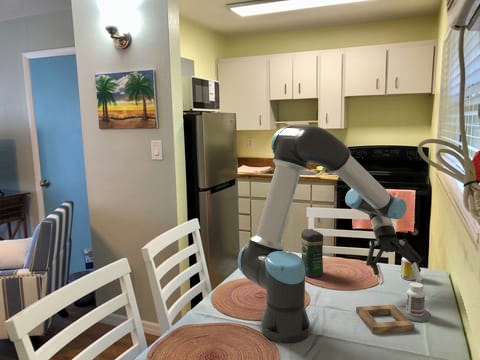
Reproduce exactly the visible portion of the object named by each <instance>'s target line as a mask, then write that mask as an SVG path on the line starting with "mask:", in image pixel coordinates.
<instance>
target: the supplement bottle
mask: <svg viewBox="0 0 480 360" xmlns="http://www.w3.org/2000/svg"><path fill="white" fill-rule="evenodd" d="M411 265H412V263H410V262H409V261H408V260H407V259H405V258H404V257H403V256H402V258H401V268H400V269H401V271H400V278H402V279H403V280H407V281H414V280H416V279H415V276H414V273H413V270H412V267H411Z"/></svg>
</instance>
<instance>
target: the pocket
mask: <svg viewBox="0 0 480 360" xmlns="http://www.w3.org/2000/svg"><path fill="white" fill-rule="evenodd" d="M355 313H356V315H358V317H359V319H361V321H362V322H363V323H364V325H365V326H366V328H367V329H368V330H369V331H370V332H371V334H383V333H384V334H385V333H386V334H387V333H388V334H389V333H401V332H414V331H415V324H414V322H413V321H410V320H409V319H408V318H407V317H406V316H405V315H404V314H403V313H402V312H401V311H400V310H399V308H398V307H397V306H396V305H395V304H381V305H369V306H368V305H365V306H364V305H363V306H356V307H355ZM380 315H381V316H383V315H390V316H391V318H393V319H394V321H383V322H381V321H380V322H377V321H376V319H374V317H373V316H380Z"/></svg>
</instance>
